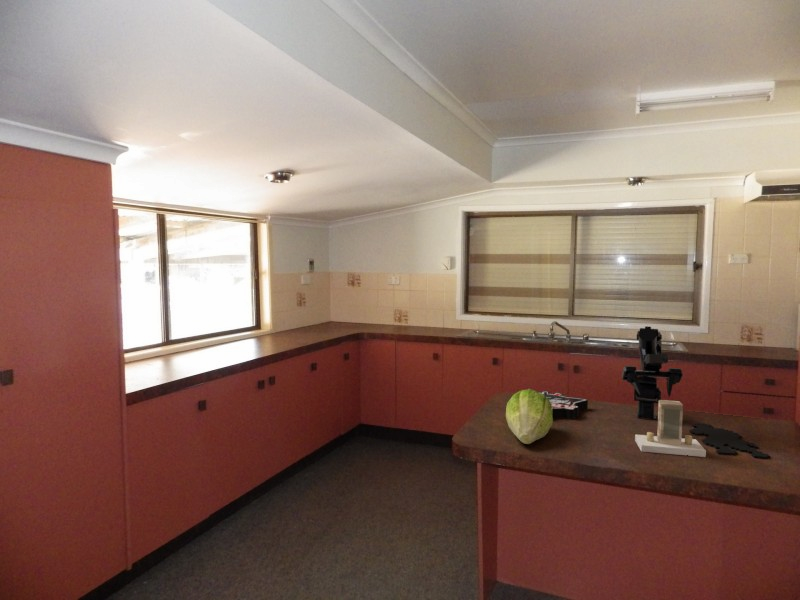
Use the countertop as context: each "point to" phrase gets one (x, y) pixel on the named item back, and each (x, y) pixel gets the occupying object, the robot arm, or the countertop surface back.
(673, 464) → the countertop surface
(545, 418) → the lettuce
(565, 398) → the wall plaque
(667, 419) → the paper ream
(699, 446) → the white peg rack
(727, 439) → the ragged black cutout
